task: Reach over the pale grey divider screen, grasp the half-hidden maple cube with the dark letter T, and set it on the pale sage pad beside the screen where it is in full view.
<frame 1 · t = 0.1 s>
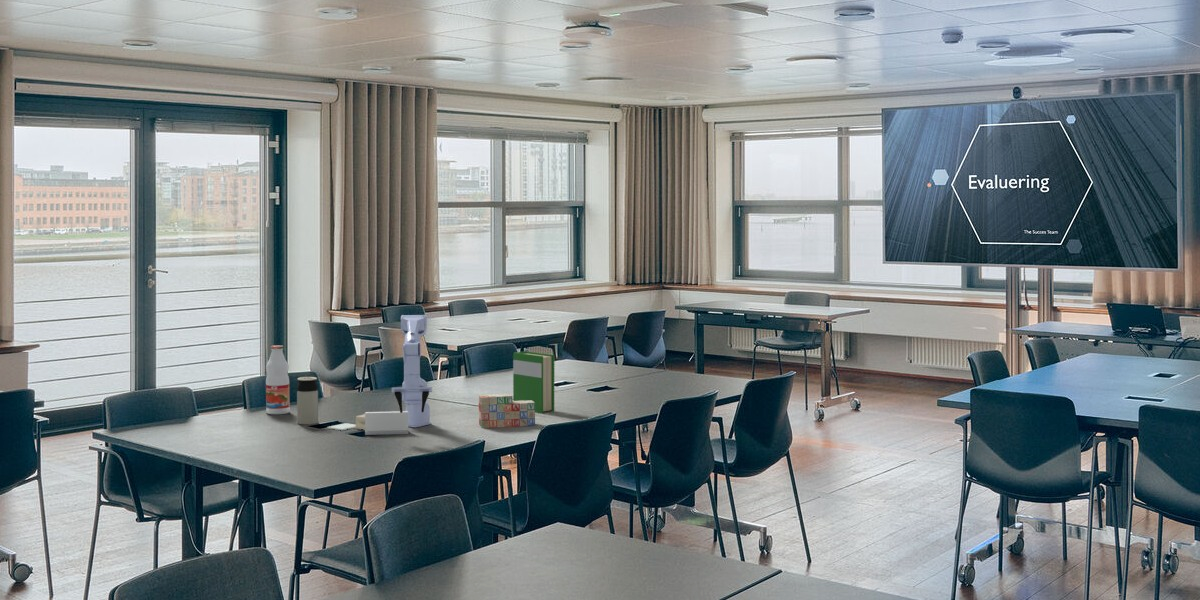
hand: (411, 412, 416), 11 cm above the table, tool pointing down, fingers open, 7 cm apart
stack of blocks: (506, 426, 449), on the table
divider screen: (387, 433, 432), on the table
fruit juice: (278, 413, 475), on the table
travel mug: (307, 423, 451), on the table
hardback book: (533, 410, 485), on the table
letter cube: (364, 428, 441), on the table
sage pad: (343, 427, 442), on the table
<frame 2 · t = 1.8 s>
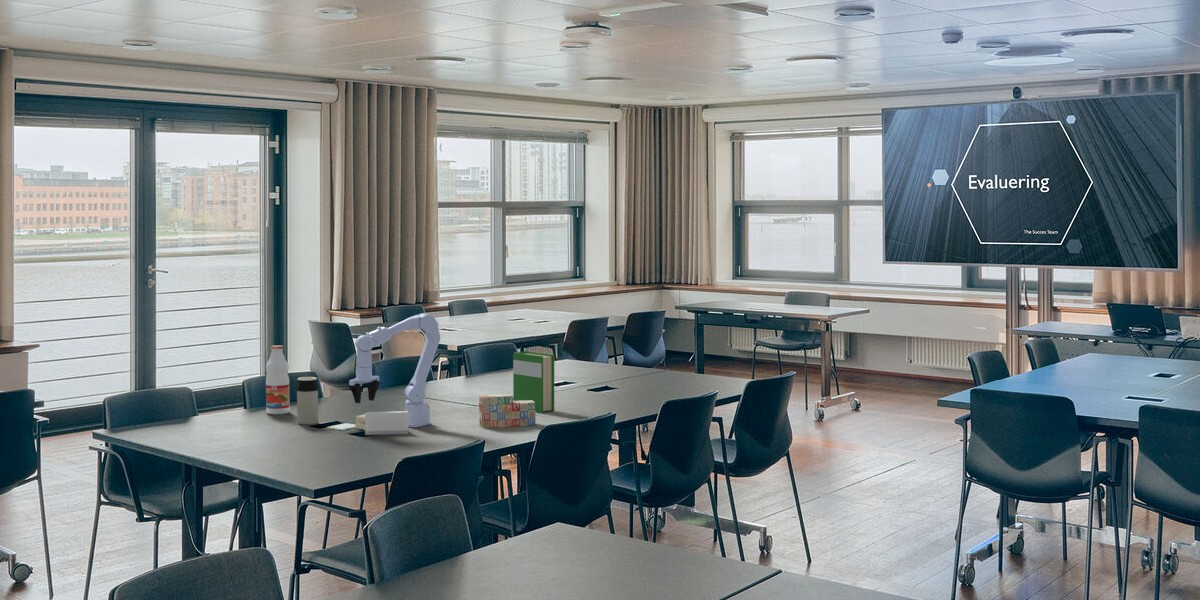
hand: (364, 401, 440), 10 cm above the table, tool pointing down, fingers open, 7 cm apart
nothing on the table moved.
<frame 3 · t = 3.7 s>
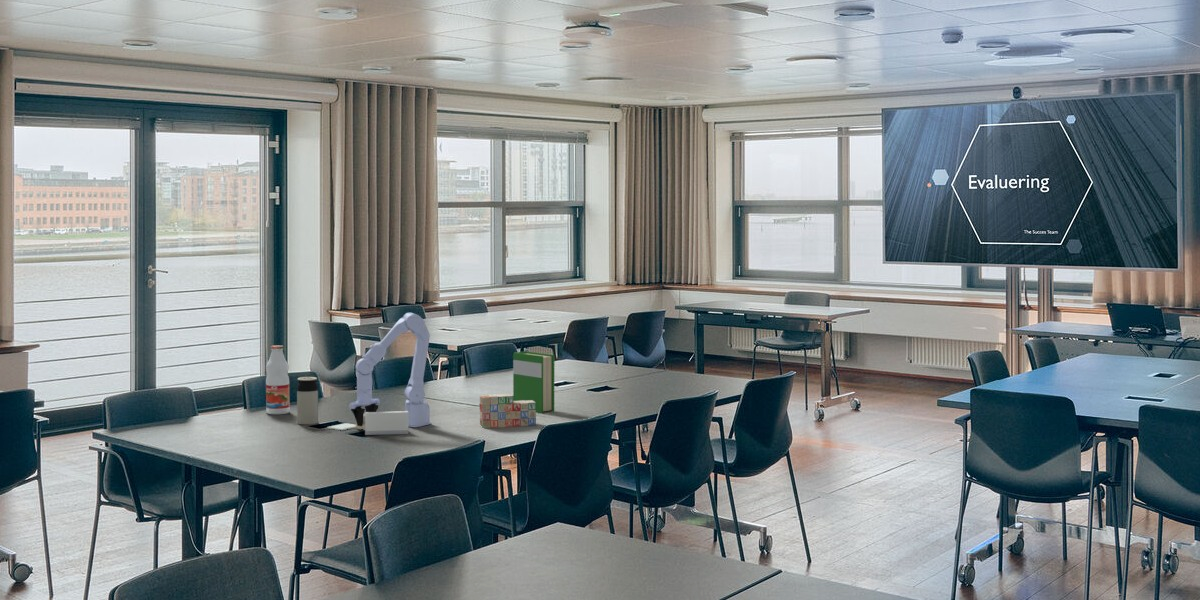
hand: (364, 424, 441), 1 cm above the table, tool pointing down, fingers closed on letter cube, 5 cm apart
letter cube: (364, 428, 441), on the table, touching gripper
everything else where it was.
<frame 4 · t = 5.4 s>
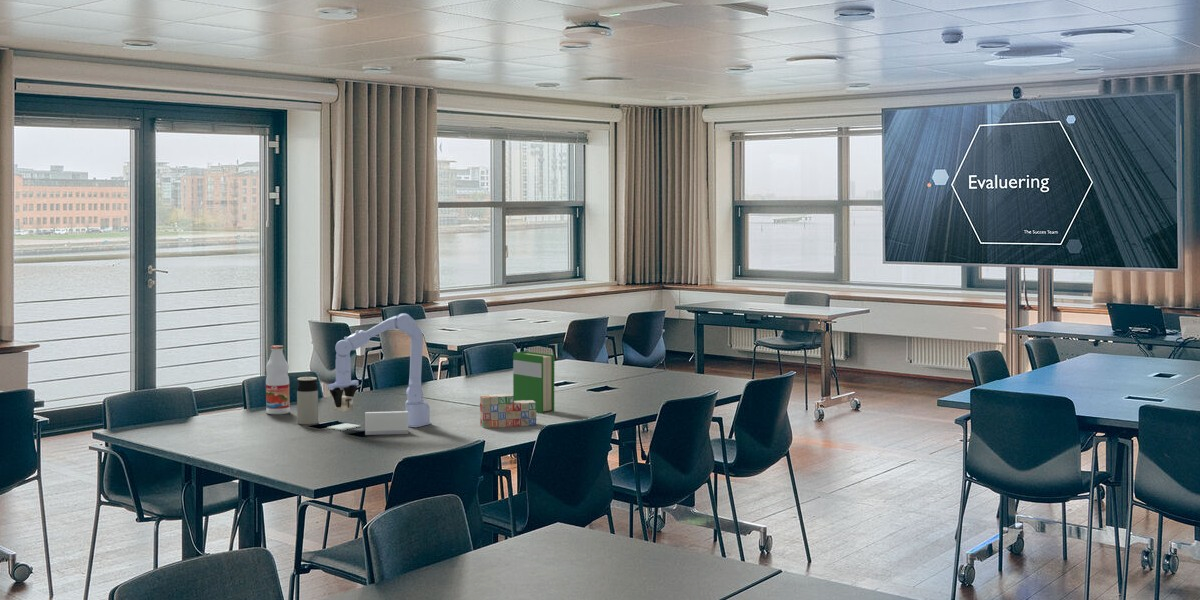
hand: (343, 406, 442), 8 cm above the table, tool pointing down, fingers closed on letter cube, 5 cm apart
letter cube: (343, 409, 442), point 7 cm above the table, touching gripper
everything else where it was.
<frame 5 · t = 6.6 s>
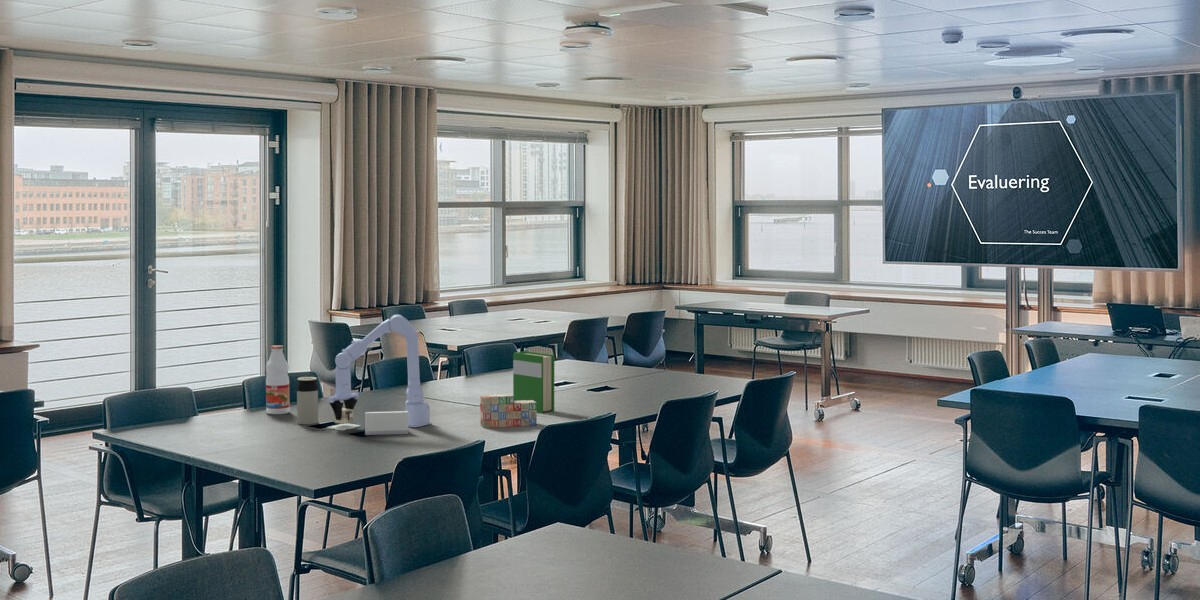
hand: (343, 418, 442), 4 cm above the table, tool pointing down, fingers closed on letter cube, 5 cm apart
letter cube: (343, 422, 442), point 2 cm above the table, touching gripper
everything else where it was.
when the fingers open (4 cm above the table, at t = 7.2 s): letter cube drops 1 cm, resting on sage pad.
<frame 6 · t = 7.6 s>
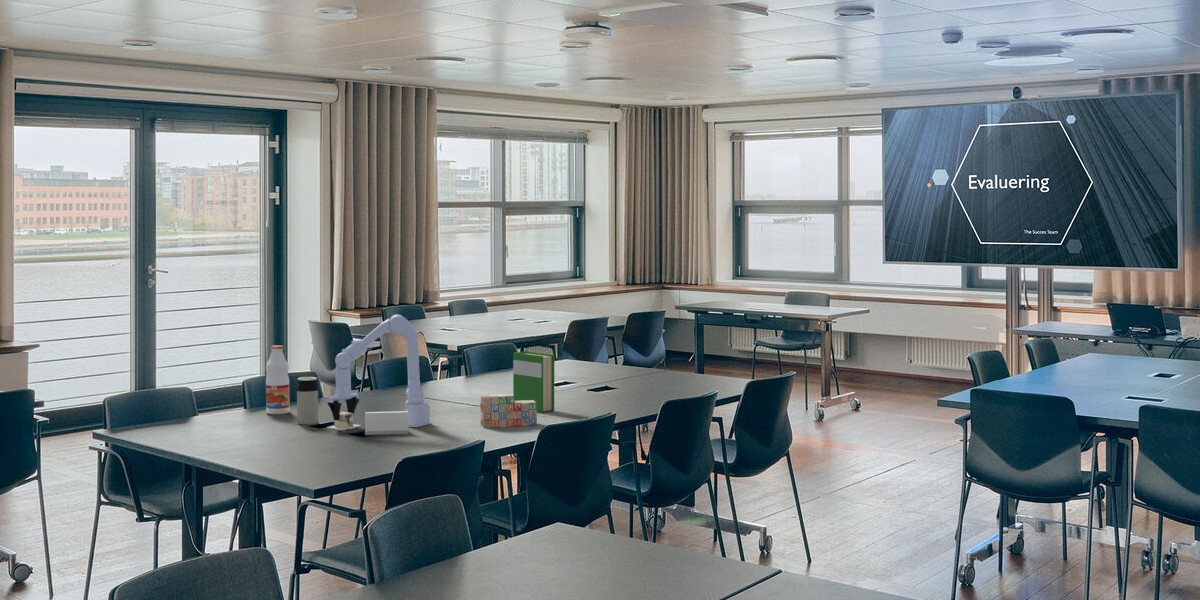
hand: (343, 418, 442), 4 cm above the table, tool pointing down, fingers open, 7 cm apart
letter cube: (343, 426, 442), point 1 cm above the table, touching sage pad
everything else where it was.
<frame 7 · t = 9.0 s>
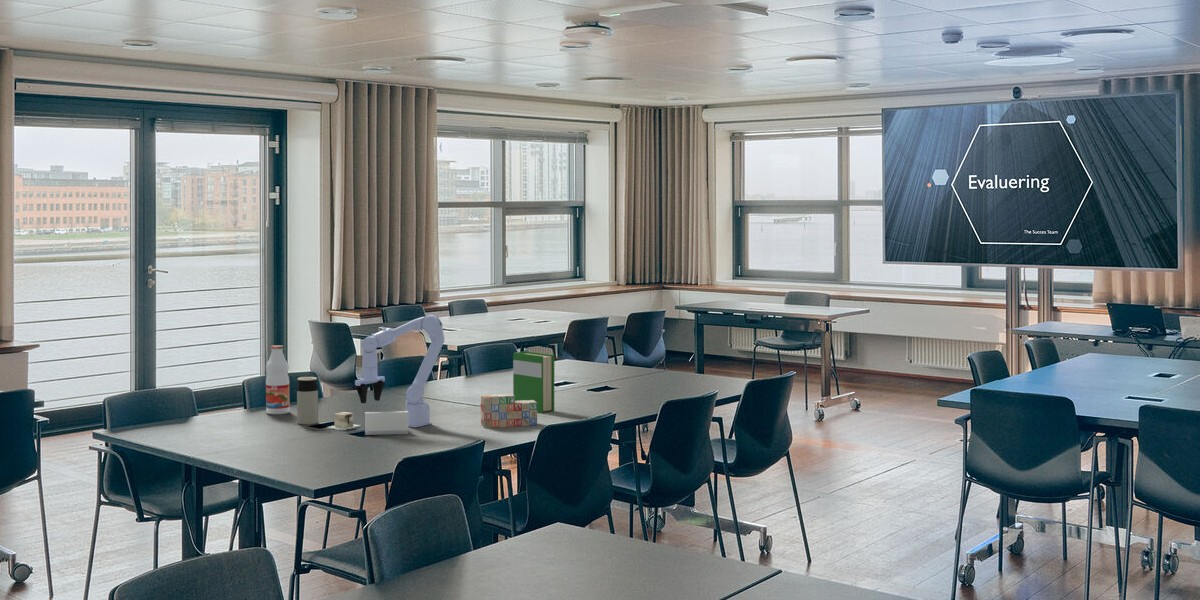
hand: (370, 401, 446), 9 cm above the table, tool pointing down, fingers open, 7 cm apart
nothing on the table moved.
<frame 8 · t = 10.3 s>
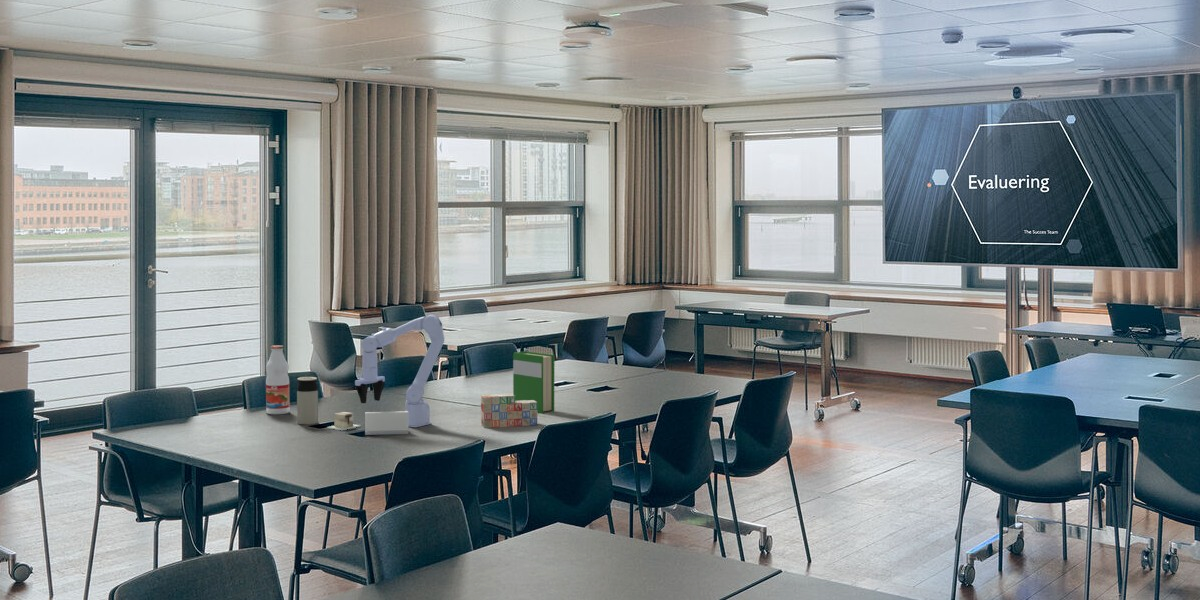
hand: (370, 401, 446), 9 cm above the table, tool pointing down, fingers open, 7 cm apart
at the end: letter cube 0.1 cm off-centre on the sage pad, point 0.6 cm above the sage pad's base; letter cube tilted 0°; the gripper is holding nothing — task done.
